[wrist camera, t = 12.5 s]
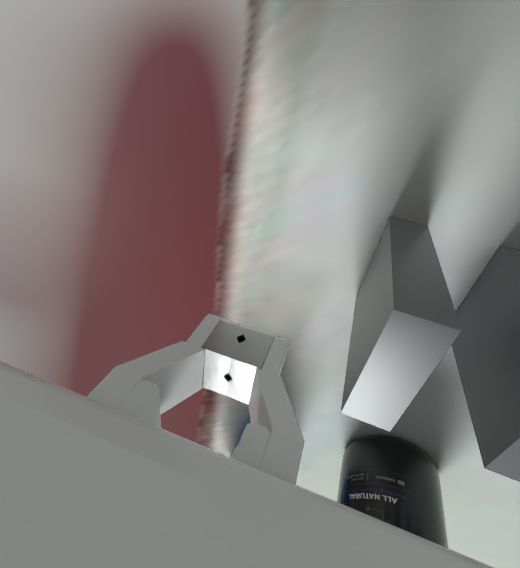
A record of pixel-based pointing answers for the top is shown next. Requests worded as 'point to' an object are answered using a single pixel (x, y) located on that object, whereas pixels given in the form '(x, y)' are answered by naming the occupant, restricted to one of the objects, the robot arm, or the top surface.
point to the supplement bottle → (394, 486)
